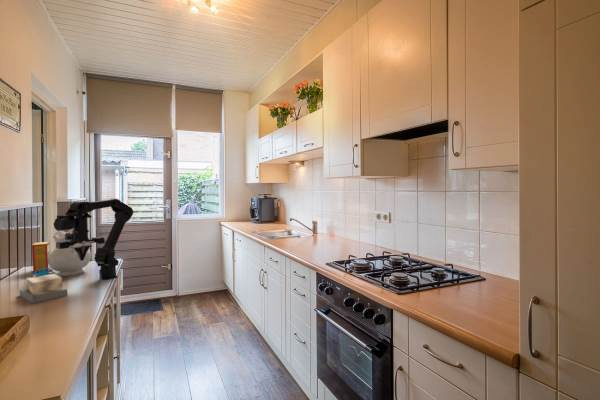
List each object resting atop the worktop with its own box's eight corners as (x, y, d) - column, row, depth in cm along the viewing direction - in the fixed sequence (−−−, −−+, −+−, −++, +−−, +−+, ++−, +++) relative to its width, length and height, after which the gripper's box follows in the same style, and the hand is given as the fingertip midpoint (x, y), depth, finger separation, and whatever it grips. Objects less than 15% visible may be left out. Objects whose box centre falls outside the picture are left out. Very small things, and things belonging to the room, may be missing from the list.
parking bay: (53, 288, 151) (53, 282, 151) (67, 295, 140) (67, 289, 140) (19, 295, 141) (19, 289, 141) (31, 303, 130) (31, 297, 130)
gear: (24, 284, 151) (34, 266, 158) (28, 291, 155) (38, 272, 162) (51, 286, 153) (60, 267, 160) (55, 292, 158) (63, 274, 164)
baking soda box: (36, 269, 187) (35, 242, 186) (50, 267, 190) (49, 240, 190) (33, 273, 179) (31, 244, 178) (48, 271, 182) (46, 243, 182)
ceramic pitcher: (99, 274, 178) (101, 229, 179) (58, 280, 162) (60, 230, 162) (80, 269, 190) (82, 227, 190) (40, 275, 173) (42, 228, 174)
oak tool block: (55, 289, 149) (54, 273, 149) (62, 294, 142) (61, 277, 142) (27, 295, 141) (26, 278, 141) (33, 300, 134) (32, 283, 134)
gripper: (95, 224, 166) (96, 255, 166) (50, 229, 151) (52, 262, 151) (104, 226, 159) (105, 257, 160) (59, 230, 144) (60, 265, 145)
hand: (81, 260), depth 154 cm, fingers closed
